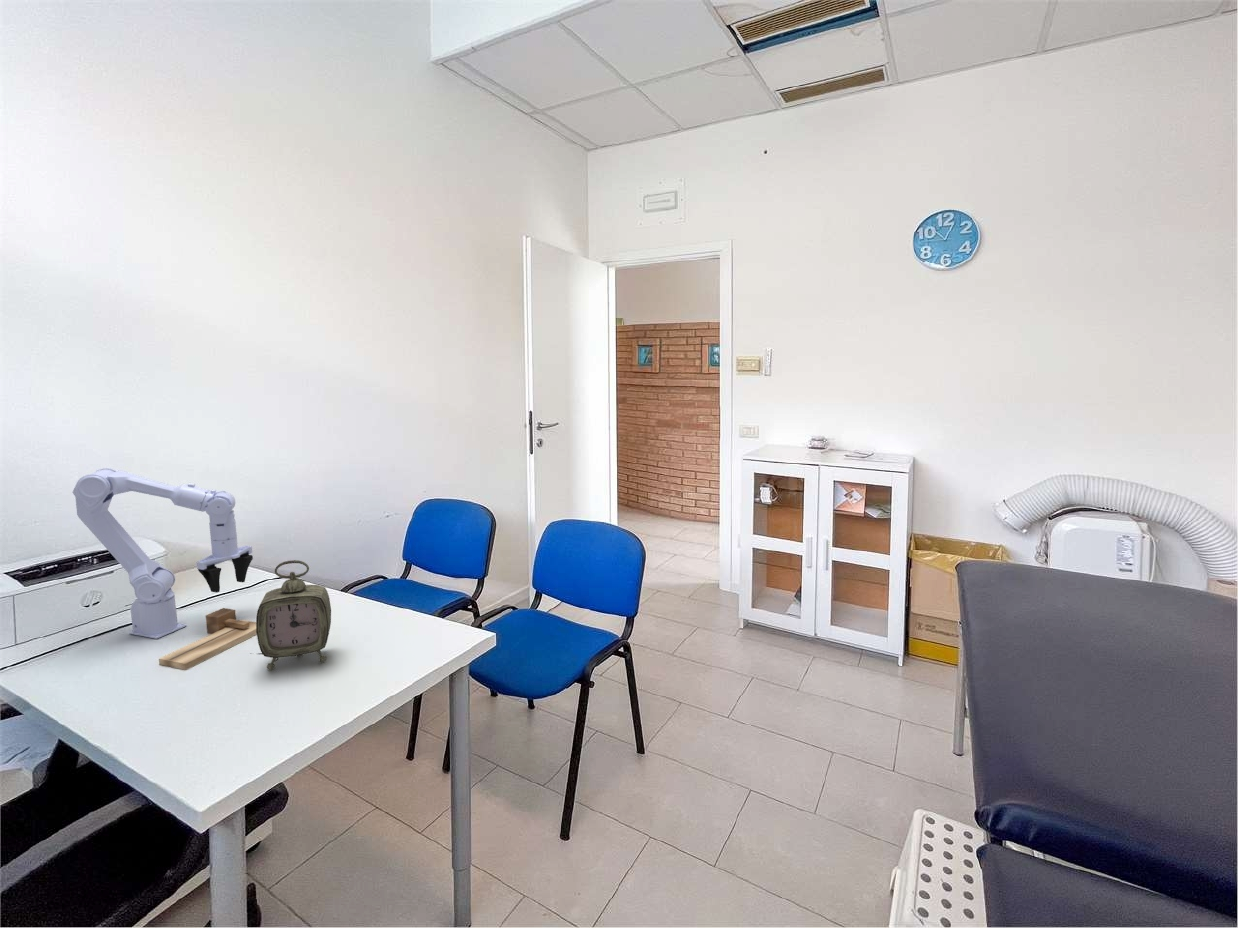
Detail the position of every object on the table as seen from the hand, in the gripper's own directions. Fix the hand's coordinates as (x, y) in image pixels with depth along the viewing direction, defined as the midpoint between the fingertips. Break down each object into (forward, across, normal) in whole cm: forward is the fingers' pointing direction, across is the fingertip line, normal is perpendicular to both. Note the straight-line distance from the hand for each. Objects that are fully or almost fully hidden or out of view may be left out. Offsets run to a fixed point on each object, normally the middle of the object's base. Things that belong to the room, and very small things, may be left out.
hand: (228, 586), depth 156 cm
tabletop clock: (+10, -12, -34) cm, 37 cm away
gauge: (+10, -5, -6) cm, 13 cm away
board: (+10, -12, -9) cm, 18 cm away
